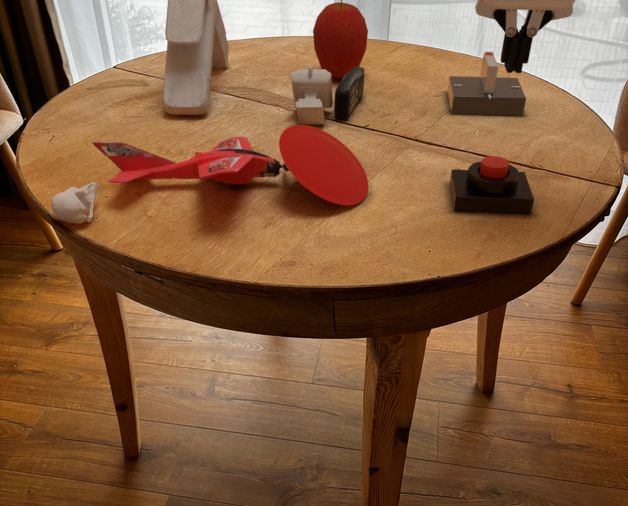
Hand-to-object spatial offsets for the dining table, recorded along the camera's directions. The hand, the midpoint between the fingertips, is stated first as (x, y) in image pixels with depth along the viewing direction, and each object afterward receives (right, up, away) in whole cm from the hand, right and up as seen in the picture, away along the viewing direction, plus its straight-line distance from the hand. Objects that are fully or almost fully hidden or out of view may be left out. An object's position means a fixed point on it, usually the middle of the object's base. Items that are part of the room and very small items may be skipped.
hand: (512, 69), depth 80 cm
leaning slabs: (-45, +15, +44) cm, 64 cm away
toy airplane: (-40, -11, +13) cm, 44 cm away
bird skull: (-54, -15, +8) cm, 56 cm away
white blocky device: (-24, +12, +32) cm, 42 cm away
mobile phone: (-17, +9, +37) cm, 42 cm away
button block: (0, -13, +11) cm, 17 cm away
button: (0, -10, +9) cm, 14 cm away
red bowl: (-22, -8, +10) cm, 25 cm away
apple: (-19, +19, +48) cm, 55 cm away
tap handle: (+6, +12, +35) cm, 38 cm away
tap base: (+6, +10, +37) cm, 39 cm away
